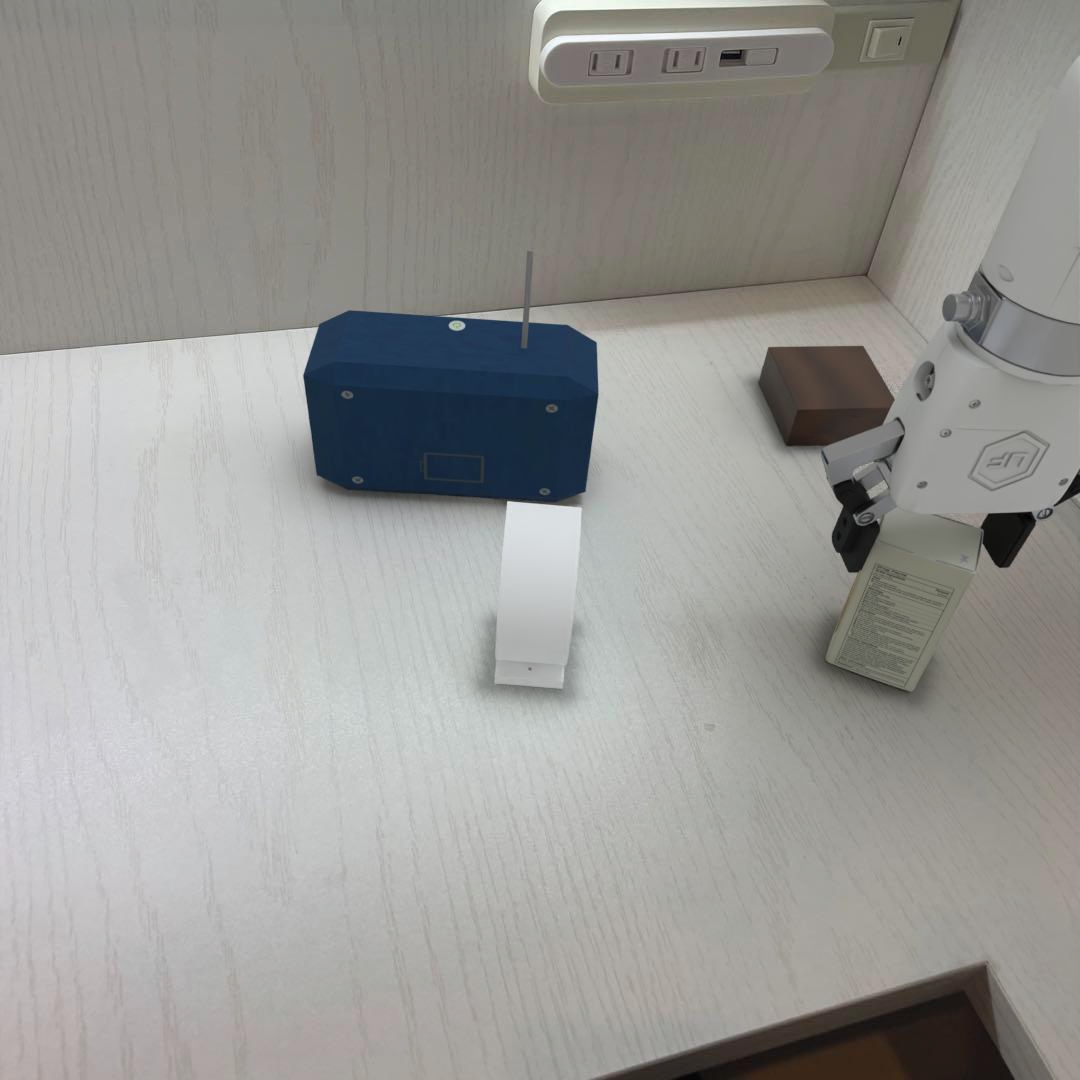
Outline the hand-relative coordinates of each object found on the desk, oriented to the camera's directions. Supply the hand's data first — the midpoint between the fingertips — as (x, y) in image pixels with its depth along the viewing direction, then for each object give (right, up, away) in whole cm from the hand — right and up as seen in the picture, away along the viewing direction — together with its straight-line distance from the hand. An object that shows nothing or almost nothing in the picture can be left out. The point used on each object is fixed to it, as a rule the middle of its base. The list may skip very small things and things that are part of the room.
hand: (919, 553), depth 60 cm
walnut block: (+2, +12, +27) cm, 30 cm away
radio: (-30, +7, +19) cm, 36 cm away
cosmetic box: (0, -7, +8) cm, 11 cm away
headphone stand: (-24, -8, +5) cm, 26 cm away
